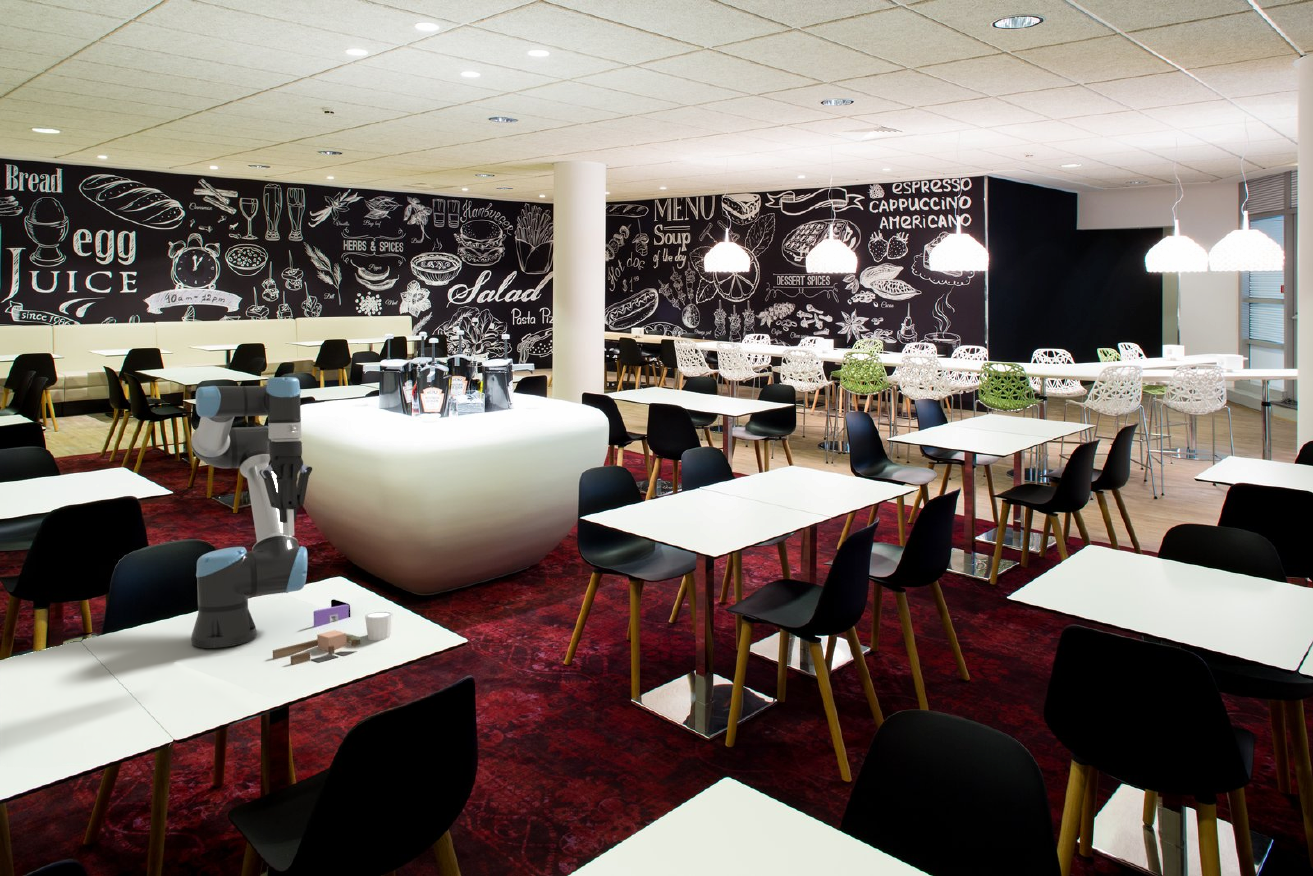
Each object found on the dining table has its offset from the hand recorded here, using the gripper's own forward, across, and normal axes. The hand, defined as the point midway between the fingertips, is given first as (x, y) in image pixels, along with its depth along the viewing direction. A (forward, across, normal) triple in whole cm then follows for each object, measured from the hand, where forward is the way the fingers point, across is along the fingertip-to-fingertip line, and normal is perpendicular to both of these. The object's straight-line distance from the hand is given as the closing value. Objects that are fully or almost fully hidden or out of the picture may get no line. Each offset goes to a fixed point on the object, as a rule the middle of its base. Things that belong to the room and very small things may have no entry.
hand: (288, 535), depth 224 cm
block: (+30, +8, -5) cm, 31 cm away
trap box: (+29, +5, -5) cm, 30 cm away
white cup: (+30, +19, -9) cm, 36 cm away
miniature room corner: (+30, +18, +15) cm, 38 cm away
